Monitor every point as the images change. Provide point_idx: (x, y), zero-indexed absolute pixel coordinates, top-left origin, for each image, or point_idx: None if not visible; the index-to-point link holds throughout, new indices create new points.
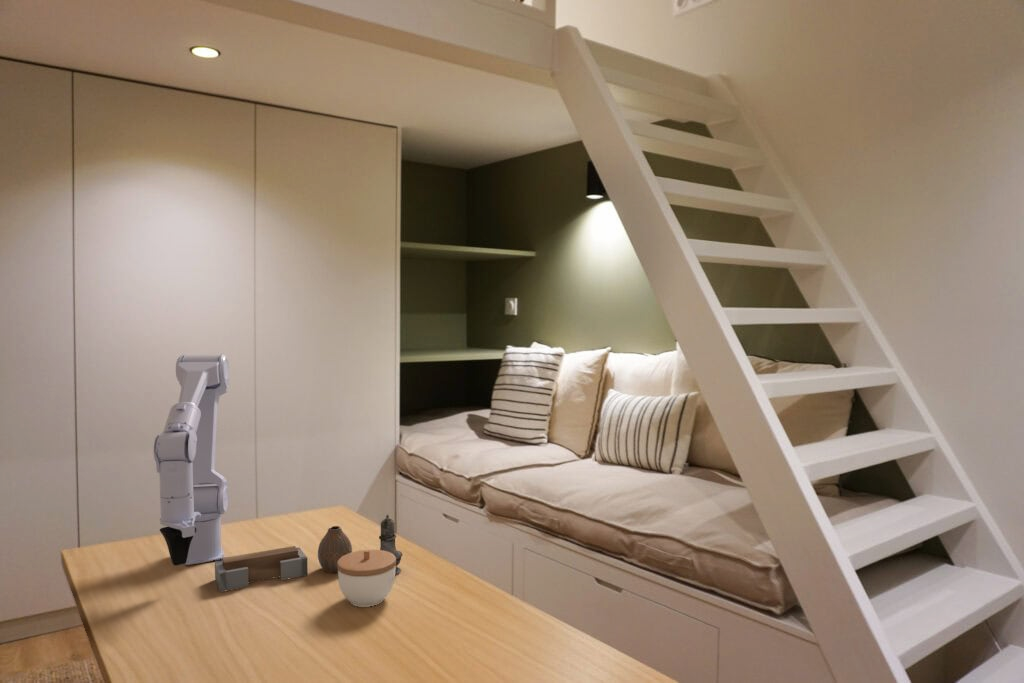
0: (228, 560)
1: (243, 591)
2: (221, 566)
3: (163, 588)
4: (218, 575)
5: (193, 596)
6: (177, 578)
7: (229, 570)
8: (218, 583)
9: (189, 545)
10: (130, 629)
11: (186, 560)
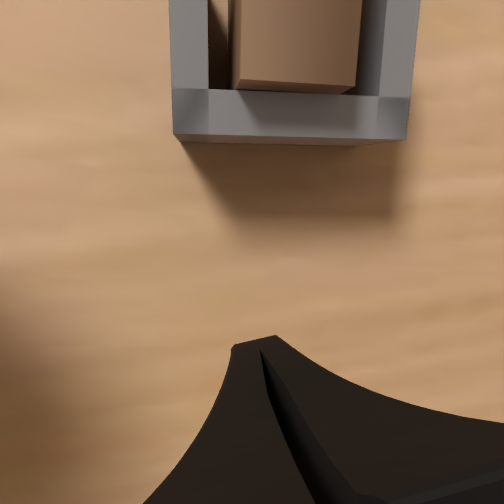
0: (322, 47)
1: None
2: (289, 105)
3: (175, 364)
4: (349, 140)
5: (336, 256)
6: (70, 308)
7: (388, 70)
8: (322, 143)
9: (353, 384)
10: None
11: (280, 338)
